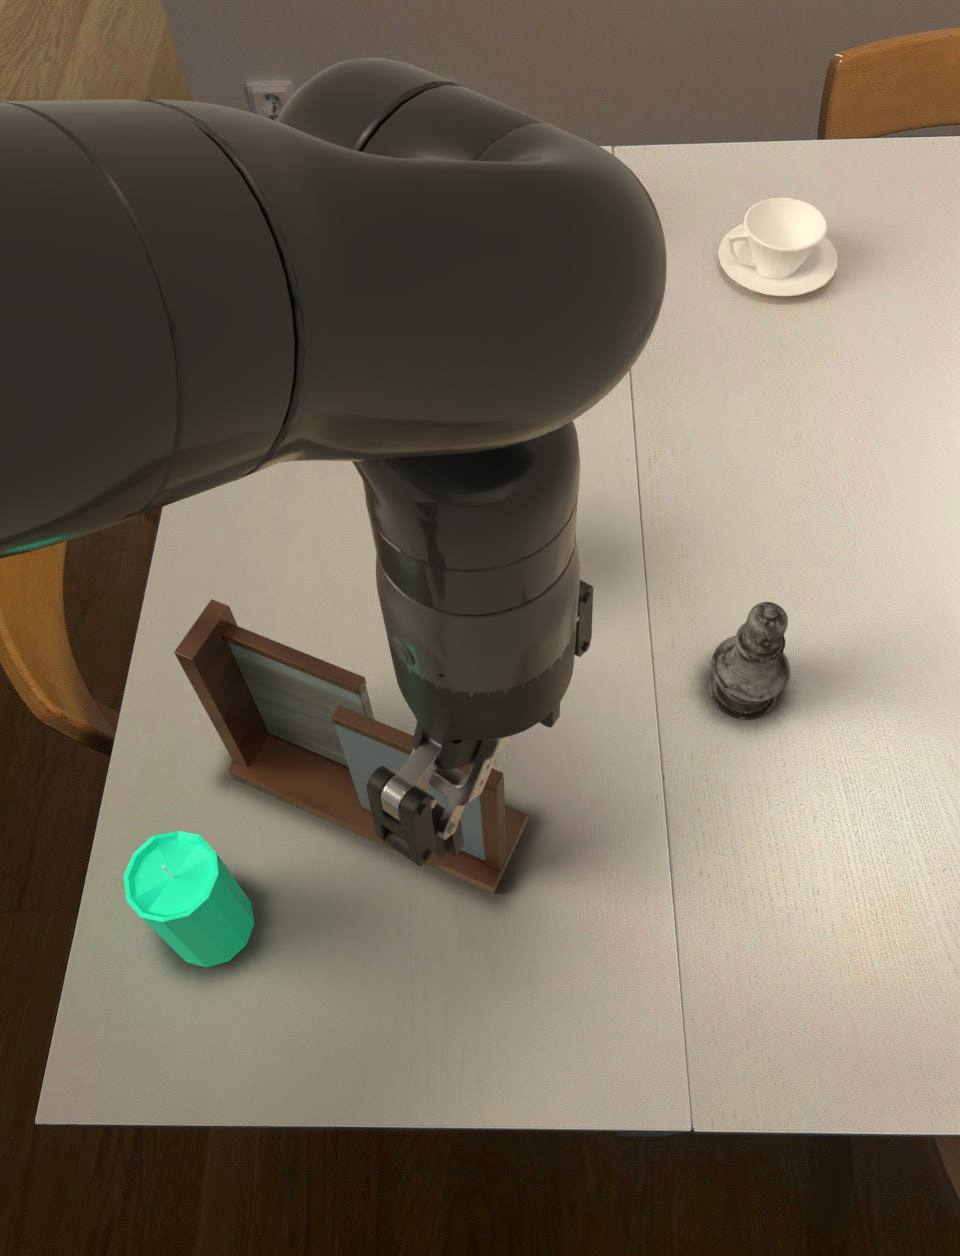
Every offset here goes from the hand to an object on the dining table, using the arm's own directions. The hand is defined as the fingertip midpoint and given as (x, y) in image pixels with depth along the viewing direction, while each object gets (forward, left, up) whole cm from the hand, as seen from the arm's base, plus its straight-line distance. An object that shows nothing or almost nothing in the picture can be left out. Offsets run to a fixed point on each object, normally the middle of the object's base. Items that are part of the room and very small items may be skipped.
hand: (492, 775), depth 55 cm
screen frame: (+4, +12, -24) cm, 27 cm away
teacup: (+73, +2, -24) cm, 77 cm away
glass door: (+3, +7, -22) cm, 23 cm away
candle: (-9, +18, -24) cm, 31 cm away
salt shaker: (+24, -10, -24) cm, 35 cm away
